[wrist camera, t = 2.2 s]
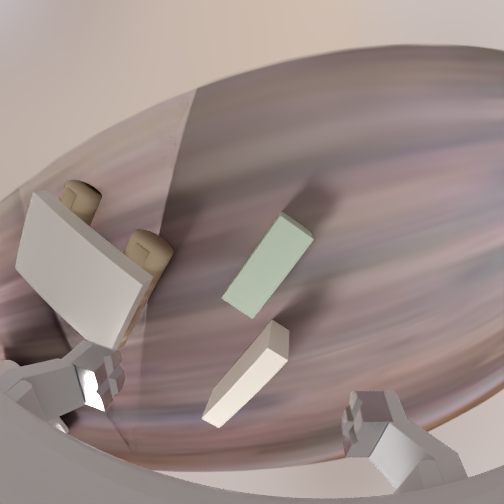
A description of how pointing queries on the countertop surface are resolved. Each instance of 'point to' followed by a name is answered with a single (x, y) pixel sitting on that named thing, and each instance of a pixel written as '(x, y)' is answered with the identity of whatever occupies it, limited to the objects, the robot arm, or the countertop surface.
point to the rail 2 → (146, 264)
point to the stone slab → (79, 271)
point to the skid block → (268, 265)
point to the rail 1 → (81, 199)
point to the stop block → (248, 374)
